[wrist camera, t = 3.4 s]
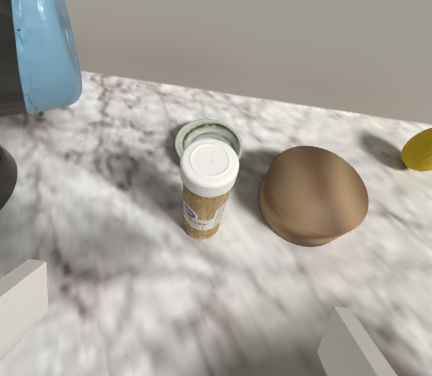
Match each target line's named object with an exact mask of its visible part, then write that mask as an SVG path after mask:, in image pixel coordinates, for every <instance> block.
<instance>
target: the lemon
mask: <svg viewBox="0 0 432 376" xmlns="http://www.w3.org/2000/svg"><path fill="white" fill-rule="evenodd" d="M401 157H402V160H403V162H404V164H405V166H406V167H409V168H411V169H413V170H417V171H429V170H432V128H429V129H427V130H424V131H422V132H420V133H419V134H417V135H415V136H414V137H412V138H411V139H410V140H409V141H408V142H407V143H406V144H405V146H404V147H403V149H402V153H401Z"/></svg>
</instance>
